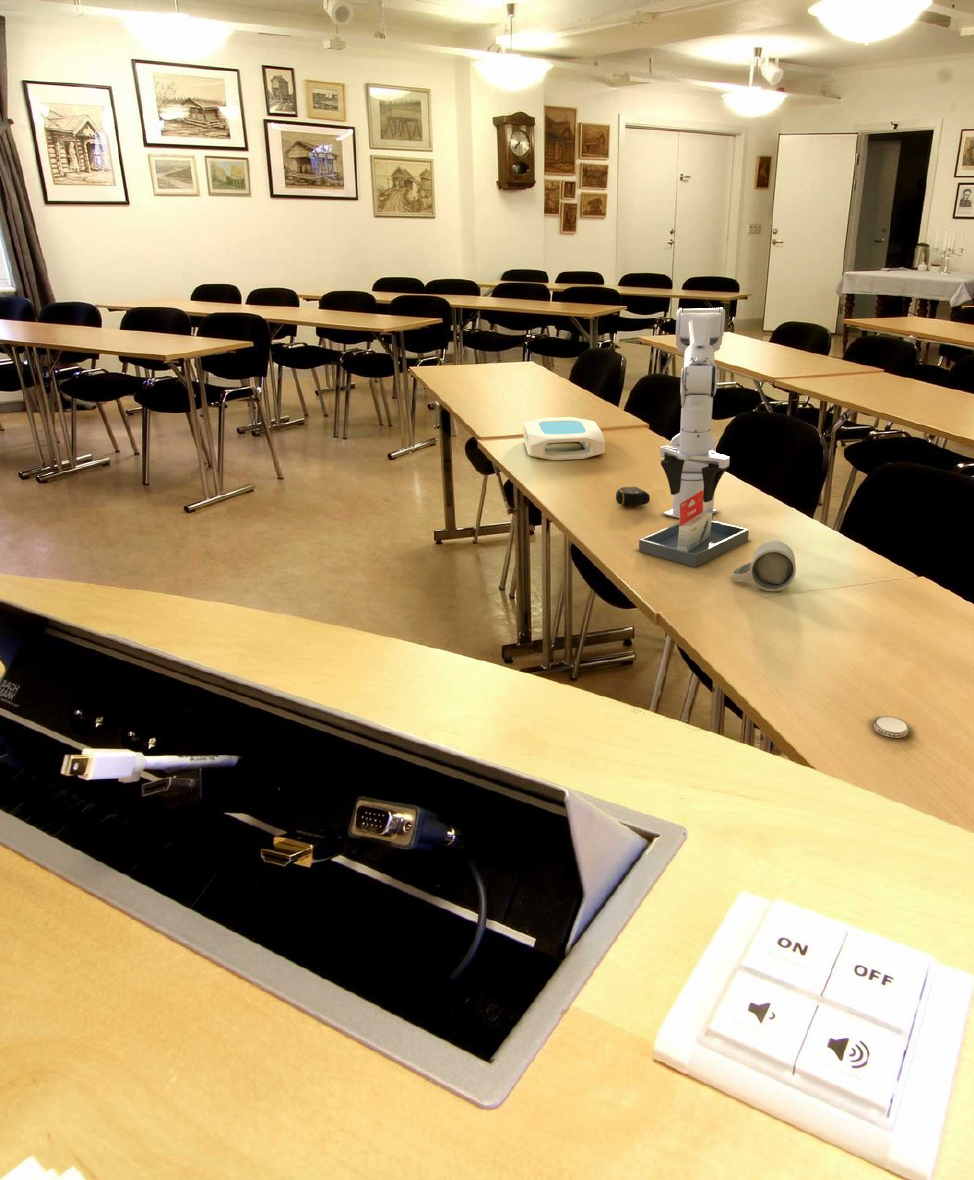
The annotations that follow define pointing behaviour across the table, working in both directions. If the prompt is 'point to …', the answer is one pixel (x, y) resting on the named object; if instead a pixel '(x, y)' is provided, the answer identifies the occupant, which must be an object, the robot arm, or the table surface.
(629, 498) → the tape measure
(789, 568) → the ceramic mug
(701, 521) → the ink cartridge box
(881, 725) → the bottle cap
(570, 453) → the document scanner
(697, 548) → the tray
